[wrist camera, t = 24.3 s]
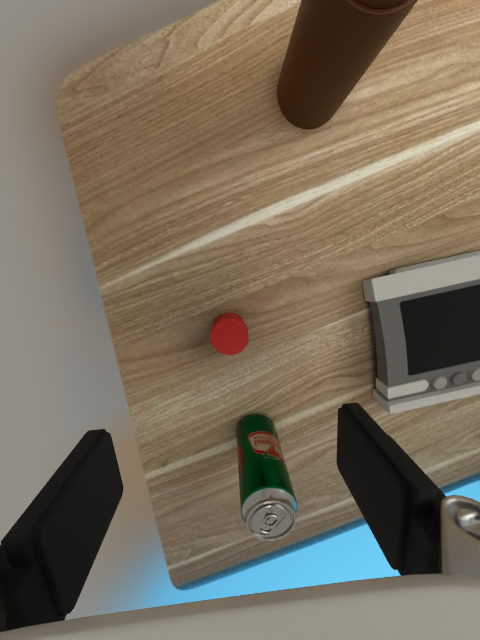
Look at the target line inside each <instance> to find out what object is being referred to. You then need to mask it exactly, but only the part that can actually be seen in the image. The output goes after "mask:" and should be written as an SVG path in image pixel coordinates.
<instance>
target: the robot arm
mask: <svg viewBox="0 0 480 640" xmlns="http://www.w3.org/2000/svg"><path fill="white" fill-rule="evenodd" d="M337 466H338V469H339V471H340V473H341V475H342V477H343V479H344V481H345V483H346V485H347V486H348V488H349V490H350V492H351V494H352V496H353V498H354V499H355V501H356V503H357V505H358V507H359V509H360V511H361V512H362V514H363V516H364V518H365V520H366V522H367V524H368V525H369V527H370V529H371V531H372V533H373V535H374V537H375V538H376V540H377V542H378V544H379V546H380V548H381V549H382V551H383V553H384V555H385V557H386V559H387V561H388V563H389V564H390V566H391V567H392V568H393V569H394V570H398V571H399V573H400V575H401V576H395V577H384V578H375V579H365V580H356V581H348V582H340V583H333V584H326V585H317V586H310V587H302V588H294V589H286V590H278V591H270V592H263V593H255V594H248V595H240V596H233V597H226V598H218V599H212V600H203V601H196V602H189V603H182V604H175V605H167V606H160V607H153V608H146V609H139V610H132V611H124V612H117V613H110V614H104V615H96V616H89V617H82V618H76V619H70V620H64V619H65V617H66V615H67V614H68V613H70V612H71V611H72V610H73V609H74V607H75V605H76V602H77V600H78V597H79V595H80V593H81V591H82V588H83V586H84V583H85V581H86V579H87V576H88V574H89V572H90V569H91V567H92V565H93V562H94V560H95V558H96V555H97V553H98V551H99V548H100V546H101V544H102V541H103V539H104V537H105V534H106V532H107V530H108V527H109V525H110V522H111V520H112V518H113V516H114V513H115V511H116V509H117V506H118V504H119V501H120V499H121V497H122V493H123V484H122V480H121V475H120V472H119V467H118V463H117V458H116V454H115V450H114V446H113V442H112V438H111V434H110V433H108V432H106V430H105V429H99V430H90V431H88V432H87V433H86V434H85V435H84V436H83V437H82V439H81V440H80V441H79V443H78V444H77V445H76V447H75V448H74V449H73V450H72V452H71V453H70V454H69V455H68V457H67V458H66V459H65V461H64V462H63V463H62V464H61V466H60V467H59V468H58V469H57V471H56V472H55V473H54V475H53V476H52V477H51V478H50V480H49V481H48V482H47V484H46V485H45V486H44V487H43V489H42V490H41V491H40V492H39V494H38V495H37V496H36V497H35V499H34V500H33V501H32V503H31V504H30V505H29V506H28V508H27V509H26V510H25V512H24V513H23V514H22V515H21V517H20V518H19V519H18V520H17V522H16V523H15V524H14V526H13V527H12V528H11V529H10V531H9V532H8V533H7V534H6V536H5V537H4V538H3V540H2V541H1V545H0V640H480V502H477V501H475V500H473V499H471V498H467V497H464V496H458V495H452V496H447V497H446V496H445V495H444V494H443V493H442V491H441V490H440V489H439V488H438V487H437V486H436V485H435V484H434V483H433V482H432V481H431V480H430V479H429V477H428V476H427V475H426V474H425V473H424V472H423V471H422V470H421V469H420V468H419V467H418V466H417V464H416V463H415V462H414V461H413V460H412V459H411V458H410V457H409V456H408V455H407V454H406V453H405V452H404V450H403V449H402V448H401V447H400V446H399V445H398V444H397V443H396V442H395V441H394V440H393V439H392V438H391V437H390V436H389V435H387V434H386V433H385V432H384V431H383V430H382V429H381V428H380V426H379V425H378V424H377V423H376V422H375V421H374V420H373V419H372V418H371V417H370V416H369V414H368V413H367V412H366V411H365V410H364V409H363V408H362V407H361V406H360V405H359V404H358V403H348V404H343V405H342V408H339V409H338V431H337Z"/></svg>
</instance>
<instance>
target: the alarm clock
mask: <svg viewBox="0 0 480 640" xmlns="http://www.w3.org/2000/svg"><path fill="white" fill-rule="evenodd" d="M388 274H389V275H386V276H381V277H377V278H372V279H368V280H363V281H362V283H363V288H364V294H365V300H366V301H370V305H371V311H372V317H373V324H374V332H375V340H376V352H377V373H378V377H377V378H376V389H373V397H374V398H375V400H376V401H377V402H378V403H379V404H380V405H381V406H382V407H383V408H384V409H385V410H386V411H387V412H388V413H389V414H393V413H398V412H402V411H407V410H411V409H416V408H420V407H425V406H429V405H434V404H438V403H443V402H447V401H452V400H456V399H461V398H465V397H470V396H474V395H478V394H480V250H479V251H475V252H470V253H466V254H461V255H457V256H452V257H448V258H443V259H439V260H434V261H429V262H425V263H420V264H416V265H411V266H407V267H402V268H398V269H394V270H390V271H389V272H388Z"/></svg>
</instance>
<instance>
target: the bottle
mask: <svg viewBox="0 0 480 640" xmlns="http://www.w3.org/2000/svg"><path fill="white" fill-rule="evenodd" d="M417 1H418V0H302V1H301V4H300V7H299V11H298V14H297V18H296V21H295V25H294V28H293V32H292V35H291V39H290V42H289V45H288V49H287V52H286V56H285V59H284V63H283V66H282V70H281V73H280V77H279V81H278V86H277V96H278V102H279V106H280V108H281V111H282V113H283V114H284V116H285V117H286V118H287V120H289V121H290V122H291V123H292V124H293V125H295V126H297V127H300V128H304V129H313V128H317V127H320V126H322V125H323V124H325V123H326V122H328V121H329V120H330V119H331V118H332V116H333V115H334V114H335V112H336V111H337V110H338V108H339V107H340V106H341V104H342V103H343V101H344V100H345V99H346V97H347V96H348V95H349V93H350V92H351V91H352V89H353V88H354V86H355V85H356V84H357V82H358V81H359V80H360V78H361V77H362V76H363V74H364V73H365V71H366V70H367V69H368V67H369V66H370V65H371V63H372V62H373V61H374V59H375V58H376V57H377V55H378V54H379V52H380V51H381V50H382V48H383V47H384V46H385V44H386V43H387V42H388V40H389V39H390V37H391V36H392V35H393V33H394V32H395V31H396V29H397V28H398V27H399V25H400V24H401V22H402V21H403V20H404V18H405V17H406V16H407V14H408V13H409V12H410V10H411V9H412V8H413V6H414V5H415V3H416V2H417Z"/></svg>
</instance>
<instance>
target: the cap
mask: <svg viewBox="0 0 480 640" xmlns="http://www.w3.org/2000/svg"><path fill="white" fill-rule="evenodd" d="M247 330H248V329H247V326H246V324H245V322H244V320H243V319H242V318H241V317H240V316H239V315H237V314H234V313H225V314H222V315H220V316H219V317H217V319H215V321H214V323H213V327H212V329H211V342H212V345H213V346H214V348H215V349H216V350H217V351H218V352H220V353H222V354H225V355H234V354H237V353H239V352H241V351H242V350H243V349H244V348H245V346H246V345H247V342H248V331H247Z"/></svg>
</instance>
